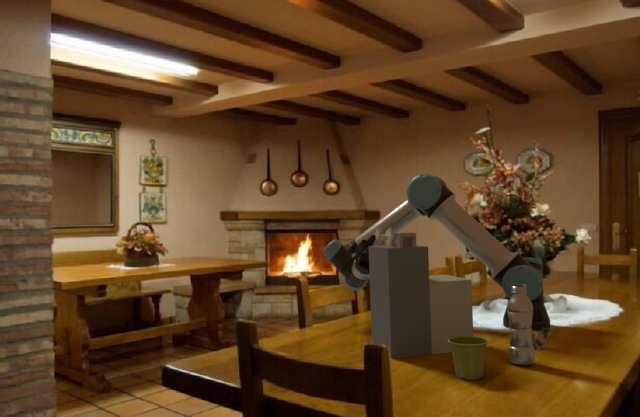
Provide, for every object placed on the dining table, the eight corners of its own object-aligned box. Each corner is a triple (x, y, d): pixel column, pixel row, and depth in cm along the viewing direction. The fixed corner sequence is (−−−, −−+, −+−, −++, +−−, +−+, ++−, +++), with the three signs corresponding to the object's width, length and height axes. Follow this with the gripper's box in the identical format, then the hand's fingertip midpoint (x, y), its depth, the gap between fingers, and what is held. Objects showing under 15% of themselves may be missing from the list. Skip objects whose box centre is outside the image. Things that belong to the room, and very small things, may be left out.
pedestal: (371, 345, 165) (368, 246, 165) (447, 338, 171) (444, 242, 172) (391, 358, 149) (387, 248, 150) (473, 350, 155) (470, 244, 156)
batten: (366, 244, 178) (366, 231, 178) (381, 243, 179) (380, 231, 179) (399, 247, 151) (399, 233, 151) (416, 247, 152) (415, 232, 152)
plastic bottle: (535, 361, 142) (532, 284, 142) (536, 368, 135) (533, 287, 136) (508, 360, 144) (505, 284, 144) (508, 367, 137) (505, 287, 138)
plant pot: (443, 372, 135) (442, 337, 135) (481, 370, 135) (479, 335, 136) (456, 383, 125) (455, 345, 125) (496, 381, 126) (494, 343, 126)
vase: (544, 345, 159) (544, 324, 159) (556, 350, 154) (556, 329, 153) (527, 346, 158) (528, 325, 158) (538, 352, 153) (539, 330, 152)
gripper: (389, 273, 188) (412, 240, 168) (344, 275, 184) (362, 243, 164) (385, 253, 192) (406, 219, 172) (340, 255, 188) (358, 221, 168)
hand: (385, 231), depth 168 cm, fingers closed on batten, 3 cm apart
